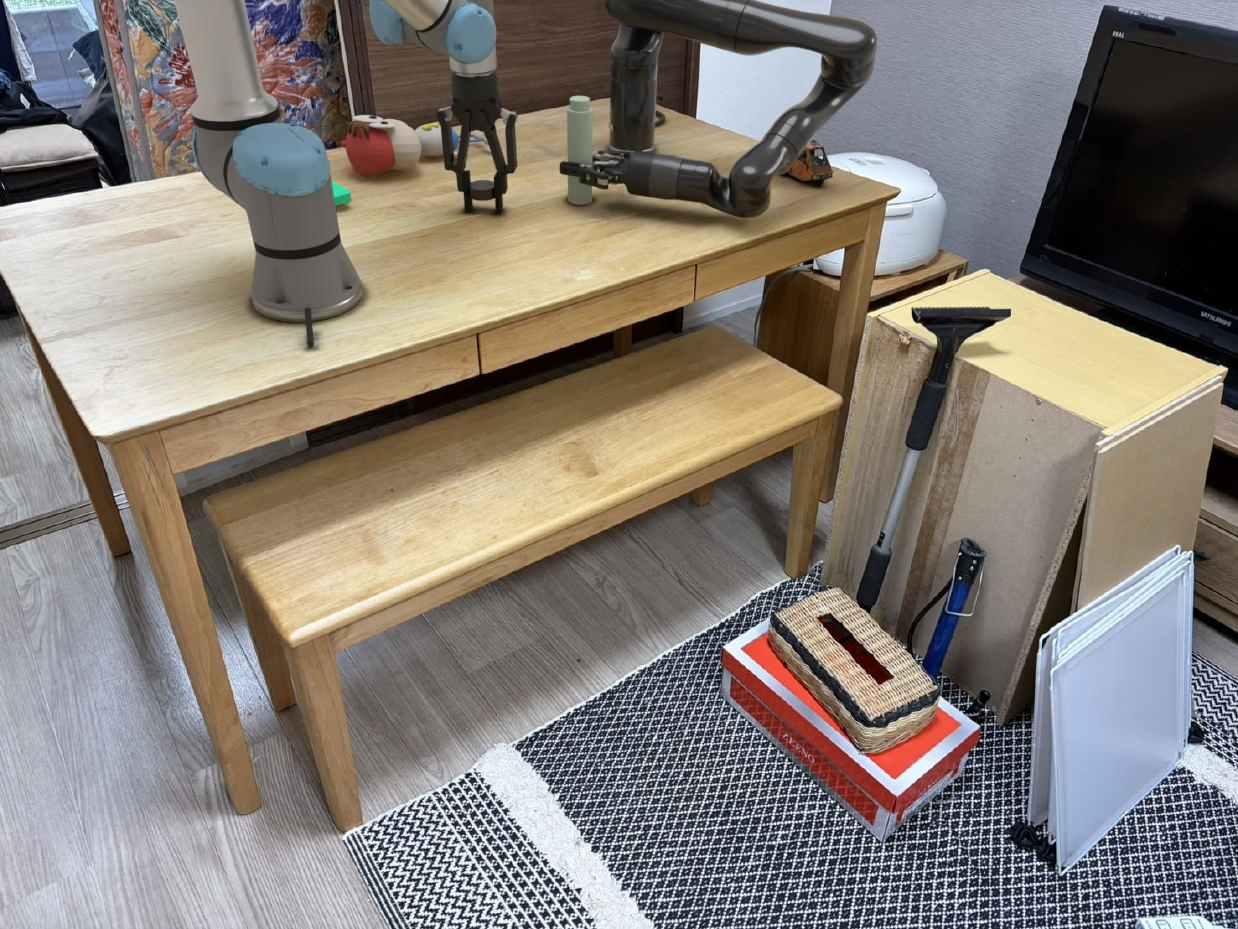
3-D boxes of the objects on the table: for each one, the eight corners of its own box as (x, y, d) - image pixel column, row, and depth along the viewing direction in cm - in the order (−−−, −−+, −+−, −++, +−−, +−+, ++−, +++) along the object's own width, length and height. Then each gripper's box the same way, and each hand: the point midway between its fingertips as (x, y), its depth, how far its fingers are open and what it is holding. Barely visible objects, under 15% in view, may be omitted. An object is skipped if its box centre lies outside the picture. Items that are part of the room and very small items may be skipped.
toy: (509, 121, 178) (356, 125, 163) (508, 175, 183) (360, 183, 168) (469, 106, 192) (324, 108, 177) (469, 157, 197) (328, 162, 181)
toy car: (791, 165, 186) (796, 130, 181) (837, 182, 178) (843, 146, 174) (769, 171, 182) (773, 136, 178) (815, 189, 175) (821, 153, 171)
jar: (584, 194, 171) (584, 93, 160) (596, 202, 168) (597, 99, 157) (563, 198, 169) (562, 96, 158) (575, 206, 166) (575, 103, 155)
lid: (487, 203, 159) (487, 191, 158) (463, 198, 161) (462, 187, 159) (502, 193, 163) (502, 182, 161) (478, 188, 164) (478, 177, 163)
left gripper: (413, 74, 147) (429, 215, 161) (524, 79, 145) (530, 221, 160) (425, 62, 153) (440, 199, 167) (532, 67, 151) (537, 204, 165)
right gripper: (644, 210, 158) (550, 196, 162) (667, 183, 169) (579, 170, 173) (645, 167, 153) (550, 154, 157) (669, 141, 164) (579, 129, 168)
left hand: (484, 209), depth 163 cm, fingers closed on lid, 5 cm apart
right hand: (566, 162), depth 165 cm, fingers closed on jar, 4 cm apart
